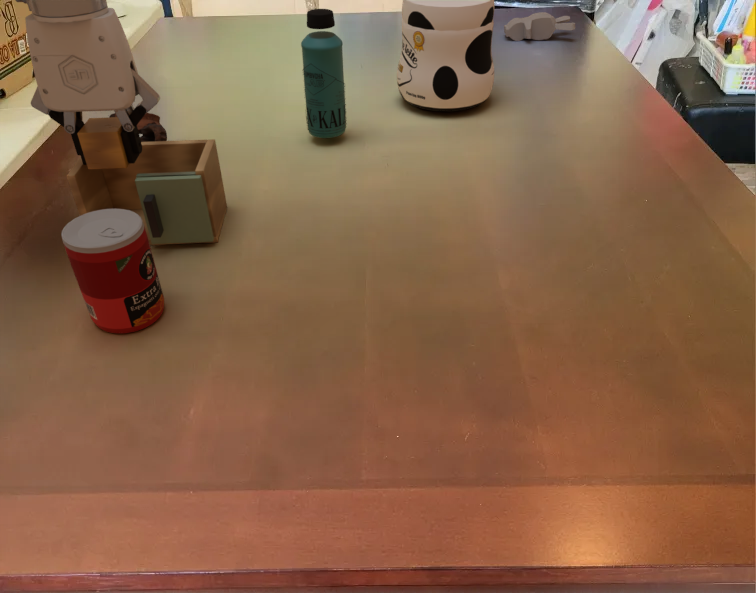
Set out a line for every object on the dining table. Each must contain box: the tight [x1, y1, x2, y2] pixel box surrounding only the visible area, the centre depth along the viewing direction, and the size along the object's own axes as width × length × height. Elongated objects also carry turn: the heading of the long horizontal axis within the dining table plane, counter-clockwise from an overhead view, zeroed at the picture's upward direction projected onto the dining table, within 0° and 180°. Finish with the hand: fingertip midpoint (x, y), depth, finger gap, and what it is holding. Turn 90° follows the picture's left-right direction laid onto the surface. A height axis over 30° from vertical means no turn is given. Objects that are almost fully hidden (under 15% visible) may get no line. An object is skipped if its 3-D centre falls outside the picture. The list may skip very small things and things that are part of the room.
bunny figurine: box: [503, 11, 576, 42], centre depth 149 cm, size 10×5×15 cm
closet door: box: [135, 175, 214, 245], centre depth 79 cm, size 8×2×9 cm, turn 93°
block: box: [77, 117, 129, 169], centre depth 79 cm, size 5×5×5 cm
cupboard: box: [66, 139, 228, 246], centre depth 83 cm, size 16×9×10 cm, turn 93°
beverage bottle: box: [300, 8, 348, 139], centre depth 102 cm, size 6×7×20 cm
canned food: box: [60, 209, 165, 334], centre depth 69 cm, size 8×8×11 cm
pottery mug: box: [108, 112, 168, 142], centre depth 102 cm, size 12×10×8 cm
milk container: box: [396, 0, 495, 112], centre depth 115 cm, size 17×17×18 cm
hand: (112, 157), depth 80 cm, fingers closed on block, 4 cm apart
